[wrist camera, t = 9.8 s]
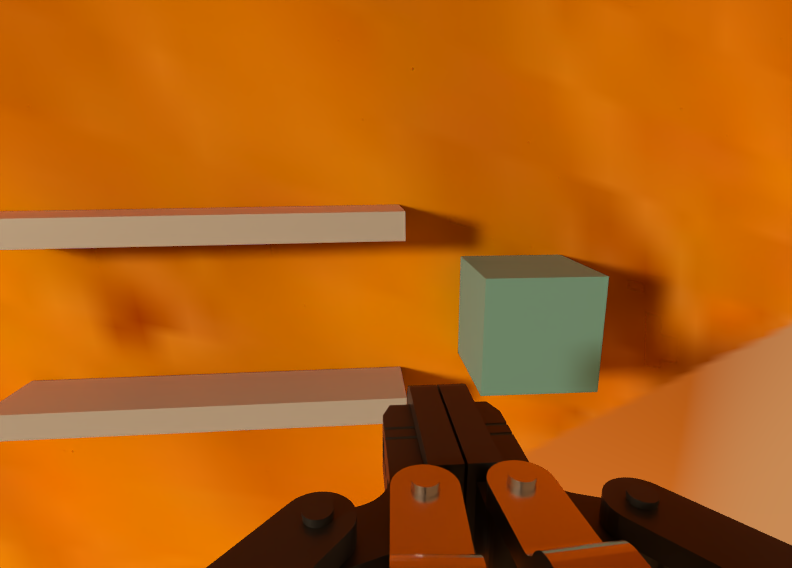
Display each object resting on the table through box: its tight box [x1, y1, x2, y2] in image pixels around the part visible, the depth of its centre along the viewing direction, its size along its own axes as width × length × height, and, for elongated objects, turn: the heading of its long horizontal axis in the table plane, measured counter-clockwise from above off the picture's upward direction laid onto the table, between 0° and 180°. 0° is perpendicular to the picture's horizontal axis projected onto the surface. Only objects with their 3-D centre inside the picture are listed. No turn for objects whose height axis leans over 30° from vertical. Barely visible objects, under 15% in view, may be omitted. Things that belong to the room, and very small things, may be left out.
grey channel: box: [0, 205, 407, 441], centre depth 22 cm, size 9×18×4 cm, turn 91°
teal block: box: [458, 255, 609, 396], centre depth 23 cm, size 5×5×5 cm
